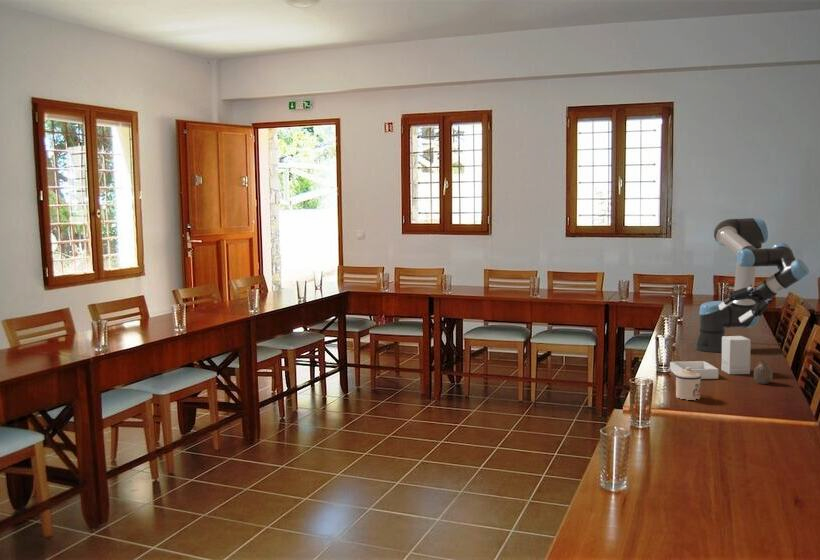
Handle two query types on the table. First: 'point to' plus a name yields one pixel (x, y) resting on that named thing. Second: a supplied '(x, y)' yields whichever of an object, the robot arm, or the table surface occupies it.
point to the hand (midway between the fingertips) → (729, 314)
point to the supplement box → (736, 354)
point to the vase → (763, 373)
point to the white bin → (696, 368)
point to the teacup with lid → (688, 384)
